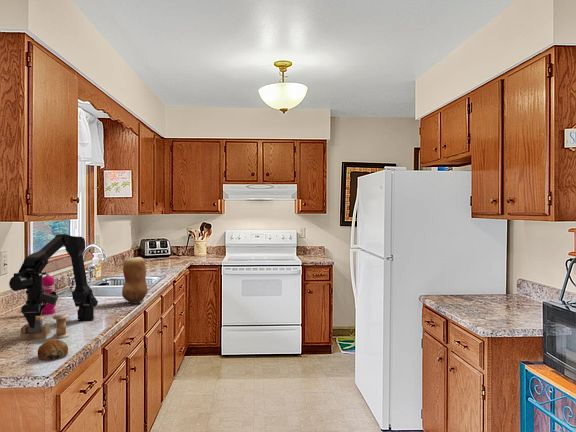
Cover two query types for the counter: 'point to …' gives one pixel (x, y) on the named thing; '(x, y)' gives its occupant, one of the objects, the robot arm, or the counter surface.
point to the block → (36, 325)
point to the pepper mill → (48, 287)
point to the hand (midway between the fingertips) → (35, 325)
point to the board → (44, 333)
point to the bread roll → (52, 350)
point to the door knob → (61, 326)
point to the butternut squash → (134, 280)
